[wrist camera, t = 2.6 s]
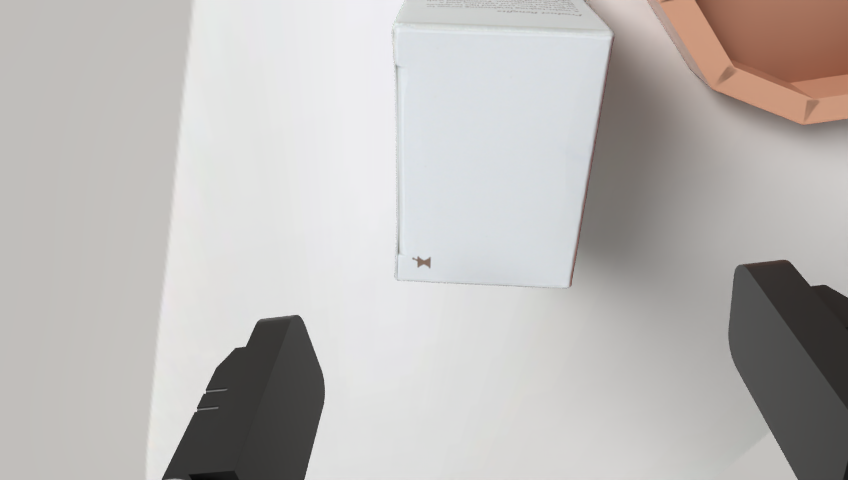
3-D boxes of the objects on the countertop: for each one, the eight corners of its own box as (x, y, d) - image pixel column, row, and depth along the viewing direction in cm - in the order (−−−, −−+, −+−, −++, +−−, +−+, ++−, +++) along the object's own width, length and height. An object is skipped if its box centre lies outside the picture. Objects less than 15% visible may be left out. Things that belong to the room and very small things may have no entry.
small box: (537, 157, 28) (572, 297, 19) (415, 152, 28) (393, 288, 19) (561, -34, 23) (623, 30, 14) (417, -38, 24) (390, 23, 15)
